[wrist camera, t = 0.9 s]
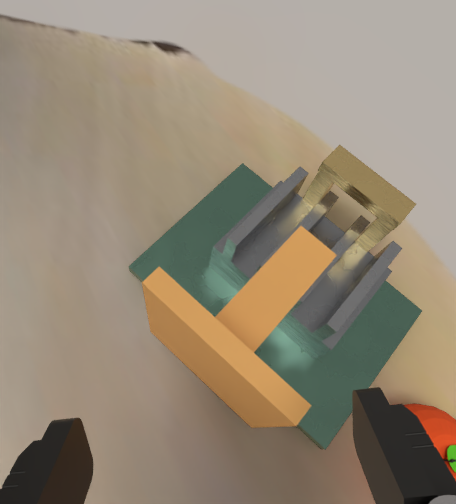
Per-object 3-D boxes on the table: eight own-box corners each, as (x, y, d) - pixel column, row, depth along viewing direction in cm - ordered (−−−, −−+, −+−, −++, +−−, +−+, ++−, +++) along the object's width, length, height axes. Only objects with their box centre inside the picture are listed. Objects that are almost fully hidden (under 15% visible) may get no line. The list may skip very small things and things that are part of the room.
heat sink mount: (129, 270, 35) (114, 210, 26) (241, 169, 40) (264, 86, 31) (320, 449, 32) (387, 457, 22) (415, 313, 37) (504, 272, 27)
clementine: (431, 393, 35) (492, 384, 28) (468, 488, 32) (544, 503, 26) (340, 418, 33) (382, 415, 26) (371, 520, 31) (426, 545, 24)
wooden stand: (150, 331, 32) (141, 282, 22) (241, 240, 36) (272, 159, 25) (251, 427, 31) (296, 426, 20) (335, 321, 34) (411, 271, 24)
